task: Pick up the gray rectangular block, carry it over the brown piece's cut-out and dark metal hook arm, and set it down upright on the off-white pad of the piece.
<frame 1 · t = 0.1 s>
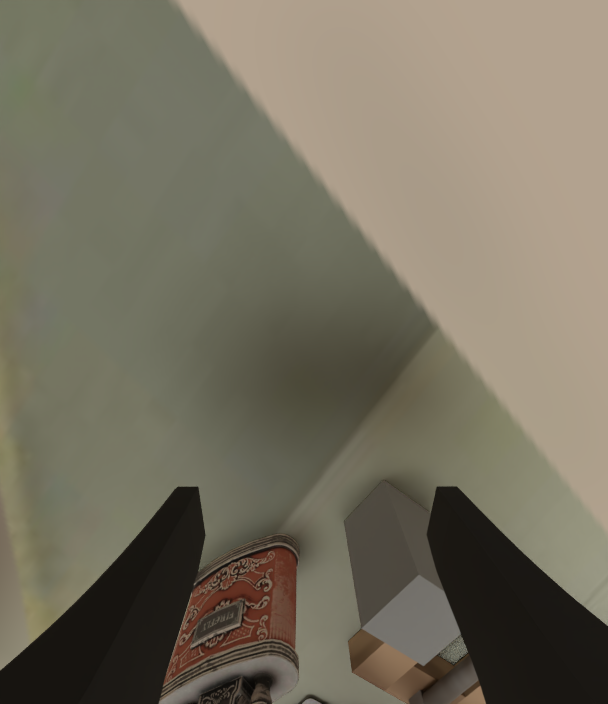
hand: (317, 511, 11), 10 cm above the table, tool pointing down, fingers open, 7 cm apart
lighter: (246, 564, 24), on the table
gray rectangular block: (386, 516, 23), on the table
brown piece: (491, 648, 26), on the table
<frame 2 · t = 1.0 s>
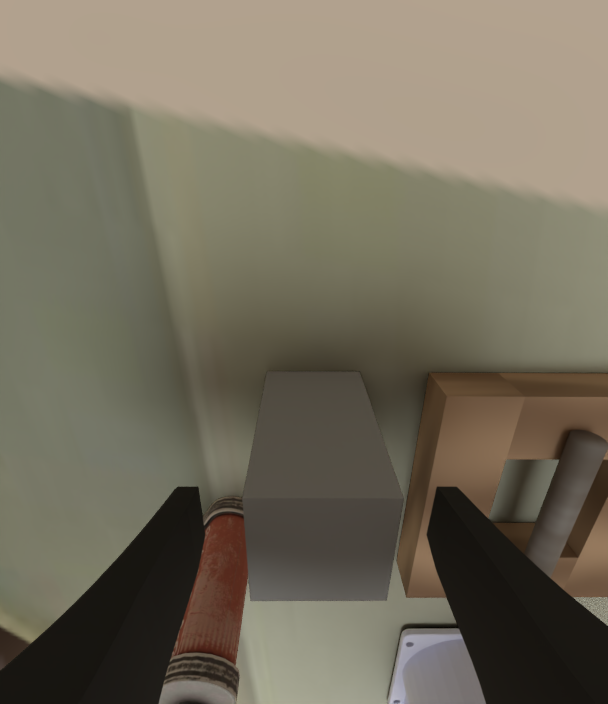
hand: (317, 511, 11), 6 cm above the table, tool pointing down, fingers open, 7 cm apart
lighter: (219, 545, 20), on the table
gray rectangular block: (312, 410, 16), on the table
brown piece: (588, 479, 18), on the table
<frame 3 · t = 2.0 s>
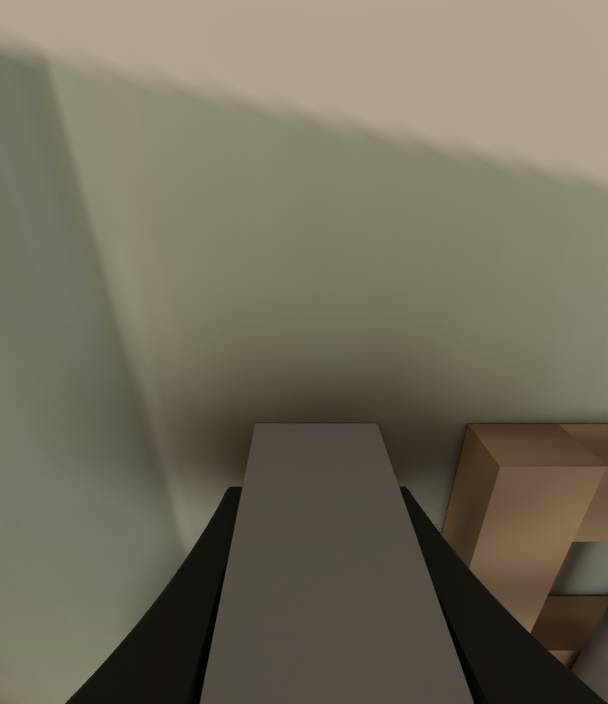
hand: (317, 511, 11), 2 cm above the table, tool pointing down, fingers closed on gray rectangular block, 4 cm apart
gray rectangular block: (314, 470, 12), on the table, touching gripper
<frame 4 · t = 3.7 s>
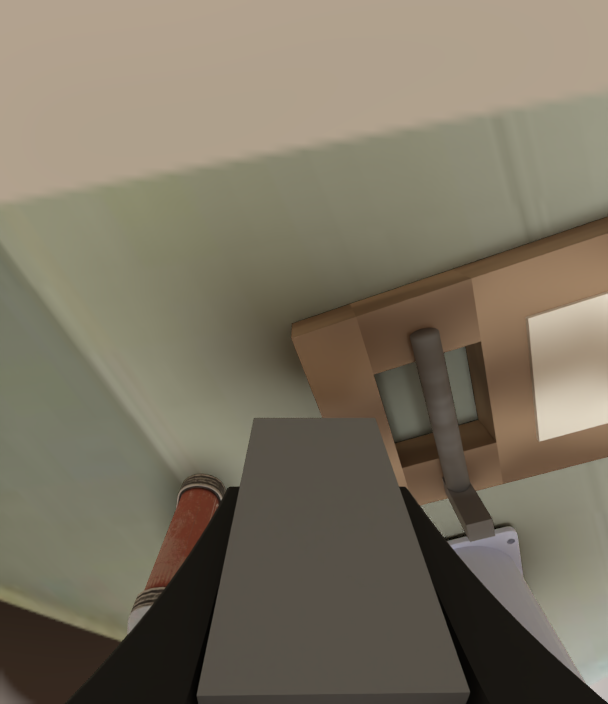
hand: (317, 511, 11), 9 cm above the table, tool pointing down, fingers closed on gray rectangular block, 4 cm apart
lighter: (207, 519, 23), on the table
gray rectangular block: (313, 465, 12), point 7 cm above the table, touching gripper
brown piece: (489, 370, 19), on the table
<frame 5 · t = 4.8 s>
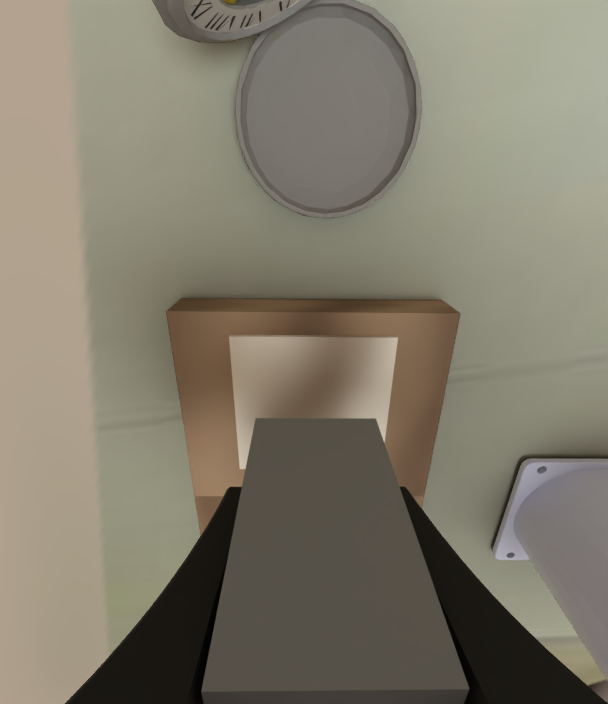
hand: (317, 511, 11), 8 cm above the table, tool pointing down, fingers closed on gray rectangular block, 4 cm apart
gray rectangular block: (314, 465, 12), point 6 cm above the table, touching gripper
pocket watch: (316, 89, 13), on the table
brown piece: (309, 455, 20), on the table
when the fingers open (5 cm above the table, at t = 5.7 s): gray rectangular block stays where it is, resting on brown piece.
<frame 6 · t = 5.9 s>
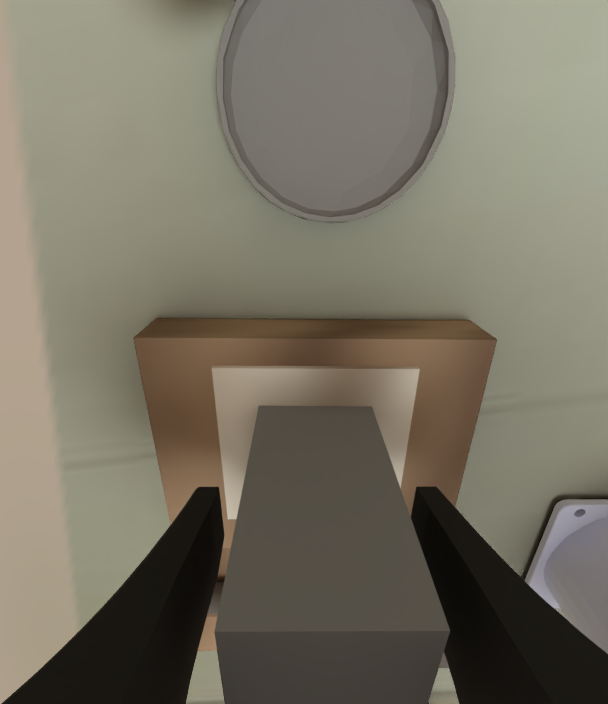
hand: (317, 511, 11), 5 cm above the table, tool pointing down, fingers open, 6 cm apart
gray rectangular block: (313, 451, 13), point 2 cm above the table, touching brown piece
pocket watch: (320, 60, 10), on the table
brown piece: (310, 495, 17), on the table
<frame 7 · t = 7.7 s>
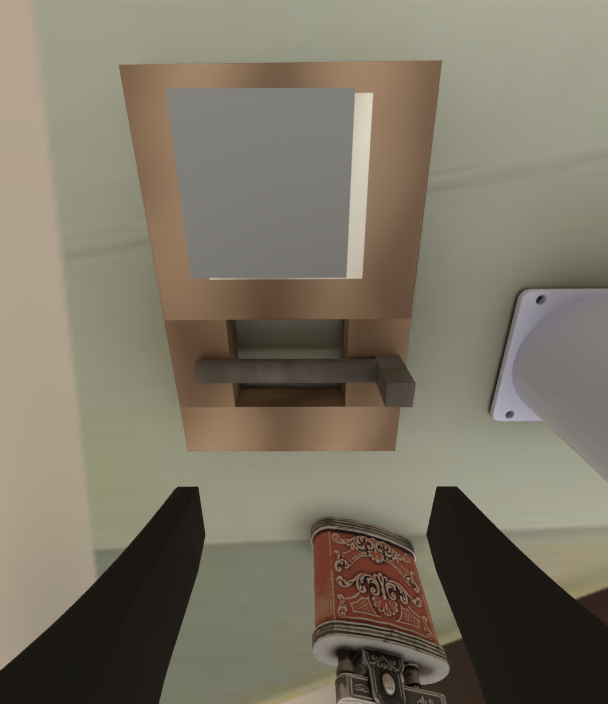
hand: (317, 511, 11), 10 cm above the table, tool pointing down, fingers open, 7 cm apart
lighter: (362, 537, 26), on the table
gray rectangular block: (283, 194, 15), point 2 cm above the table, touching brown piece
brown piece: (288, 289, 18), on the table
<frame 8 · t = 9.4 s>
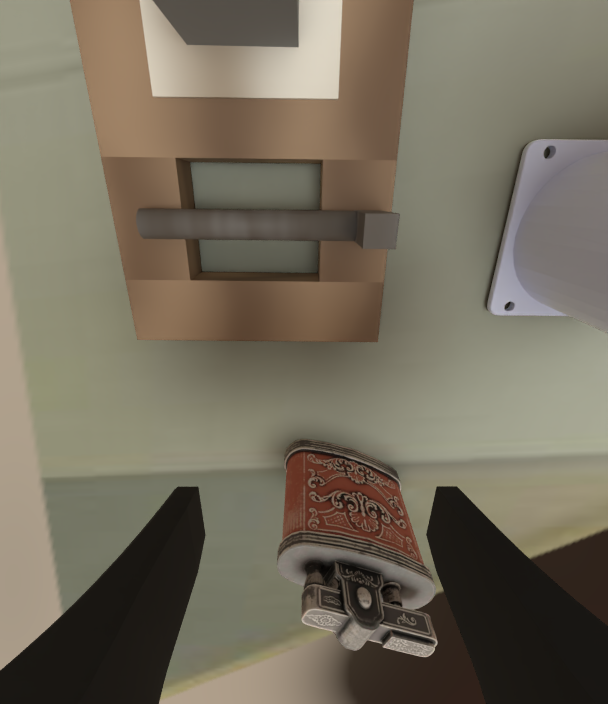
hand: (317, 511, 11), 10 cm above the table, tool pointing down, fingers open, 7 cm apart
lighter: (342, 465, 24), on the table
brown piece: (254, 137, 16), on the table
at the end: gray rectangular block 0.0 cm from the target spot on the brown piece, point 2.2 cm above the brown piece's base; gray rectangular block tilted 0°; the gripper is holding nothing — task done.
